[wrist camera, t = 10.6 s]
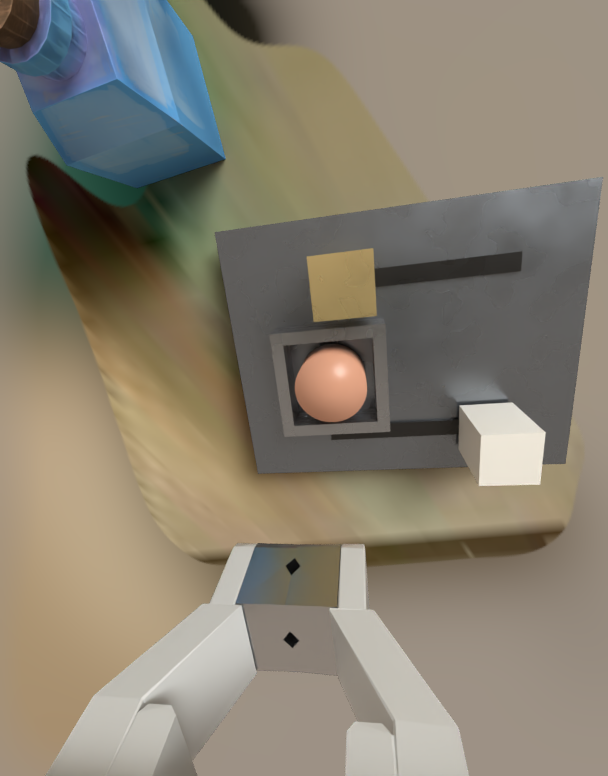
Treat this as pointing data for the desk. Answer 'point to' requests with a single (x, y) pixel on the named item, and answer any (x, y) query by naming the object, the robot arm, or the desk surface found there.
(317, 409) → the push button
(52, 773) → the robot arm
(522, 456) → the ivory slider
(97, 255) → the desk surface
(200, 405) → the desk surface
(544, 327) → the console
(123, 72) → the perfume bottle
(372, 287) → the brass slider
